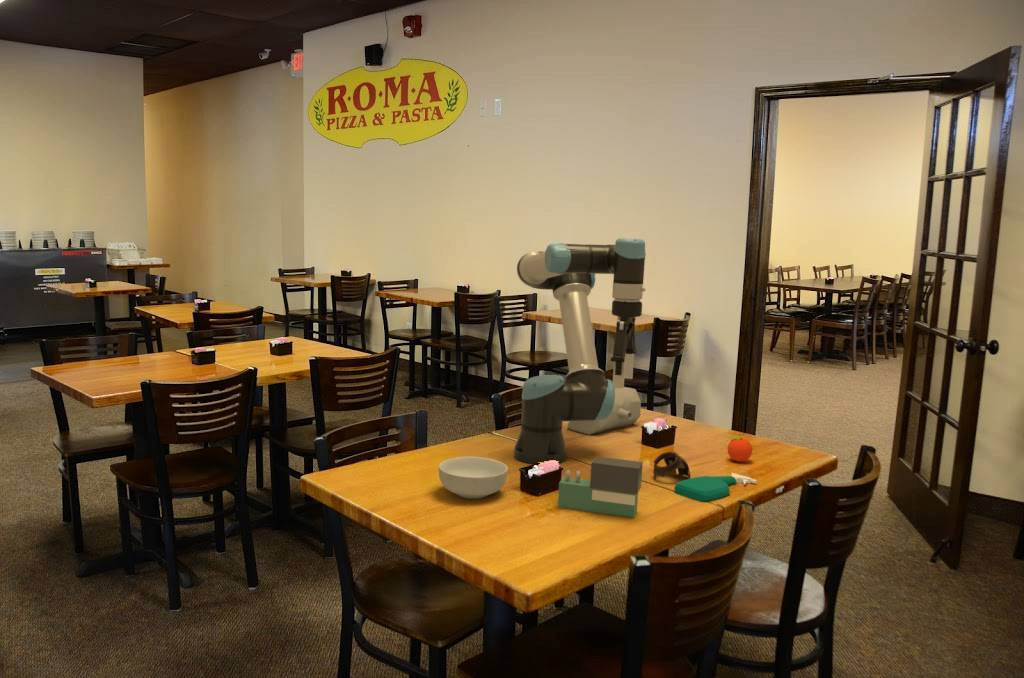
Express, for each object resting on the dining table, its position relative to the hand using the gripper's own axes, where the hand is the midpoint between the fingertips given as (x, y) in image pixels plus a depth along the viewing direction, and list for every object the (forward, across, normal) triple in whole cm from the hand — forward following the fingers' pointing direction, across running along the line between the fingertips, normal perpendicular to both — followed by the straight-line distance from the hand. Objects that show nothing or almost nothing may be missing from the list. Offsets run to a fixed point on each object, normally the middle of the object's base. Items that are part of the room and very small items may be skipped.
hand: (622, 383), depth 205 cm
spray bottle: (+27, +7, -25) cm, 38 cm away
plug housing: (+21, -21, -3) cm, 30 cm away
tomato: (+27, +35, -29) cm, 53 cm away
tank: (+27, +56, +13) cm, 64 cm away
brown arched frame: (+27, +11, -13) cm, 32 cm away
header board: (+27, -21, +1) cm, 34 cm away
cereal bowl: (+27, -22, +32) cm, 47 cm away
